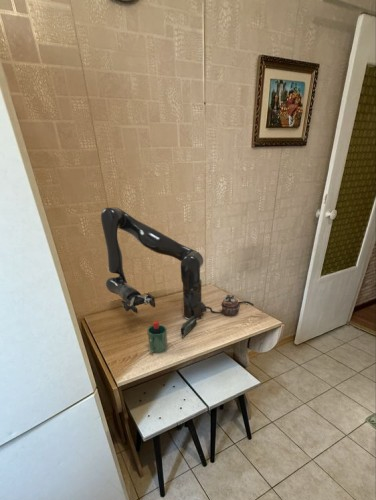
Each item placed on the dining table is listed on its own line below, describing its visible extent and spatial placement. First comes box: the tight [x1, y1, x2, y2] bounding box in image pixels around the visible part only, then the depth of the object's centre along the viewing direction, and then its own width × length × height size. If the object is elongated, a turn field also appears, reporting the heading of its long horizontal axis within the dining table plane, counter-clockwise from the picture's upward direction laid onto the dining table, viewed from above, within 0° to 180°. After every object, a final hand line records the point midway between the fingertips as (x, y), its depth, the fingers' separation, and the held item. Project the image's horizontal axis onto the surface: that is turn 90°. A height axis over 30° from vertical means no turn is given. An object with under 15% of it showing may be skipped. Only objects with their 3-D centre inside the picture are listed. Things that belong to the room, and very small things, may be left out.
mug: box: [147, 324, 169, 354], centre depth 120 cm, size 11×8×10 cm
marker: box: [153, 320, 160, 334], centre depth 120 cm, size 2×2×12 cm
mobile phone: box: [180, 316, 198, 339], centre depth 134 cm, size 5×3×15 cm
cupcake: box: [220, 294, 241, 318], centre depth 146 cm, size 10×10×10 cm
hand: (145, 308), depth 121 cm, fingers open, 8 cm apart
